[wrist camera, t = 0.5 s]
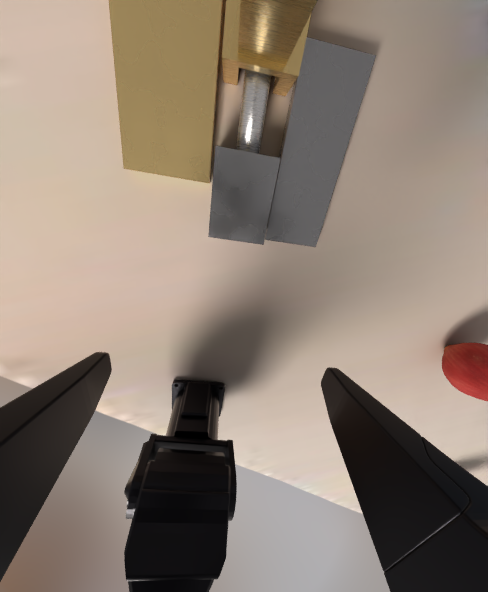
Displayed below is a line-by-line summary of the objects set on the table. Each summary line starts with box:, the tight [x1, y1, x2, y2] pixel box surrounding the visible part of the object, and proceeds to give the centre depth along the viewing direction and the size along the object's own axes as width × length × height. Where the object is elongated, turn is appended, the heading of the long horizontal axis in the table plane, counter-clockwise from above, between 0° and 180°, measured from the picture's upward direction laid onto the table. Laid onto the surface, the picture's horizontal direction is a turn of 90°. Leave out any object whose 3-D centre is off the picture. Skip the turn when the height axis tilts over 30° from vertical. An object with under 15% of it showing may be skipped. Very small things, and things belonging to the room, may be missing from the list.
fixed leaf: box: [208, 37, 376, 247], centre depth 14 cm, size 15×9×3 cm, turn 171°
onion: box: [442, 343, 488, 401], centre depth 23 cm, size 6×6×8 cm
